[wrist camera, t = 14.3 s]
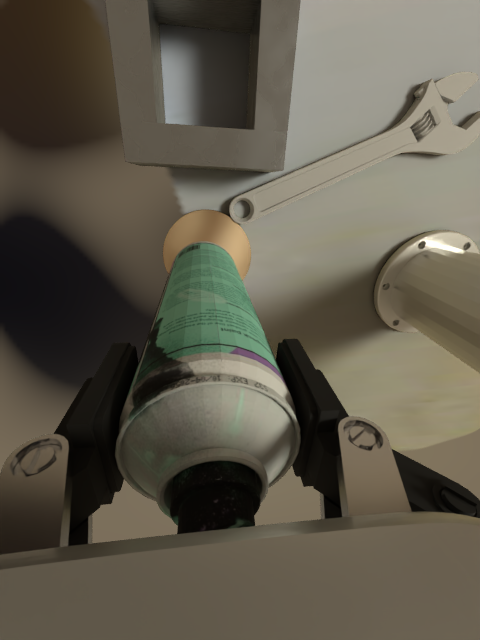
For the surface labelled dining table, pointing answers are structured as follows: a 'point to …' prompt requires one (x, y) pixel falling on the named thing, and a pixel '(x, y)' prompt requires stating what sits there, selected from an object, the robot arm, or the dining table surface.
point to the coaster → (208, 237)
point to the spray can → (206, 401)
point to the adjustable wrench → (376, 147)
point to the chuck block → (147, 84)
